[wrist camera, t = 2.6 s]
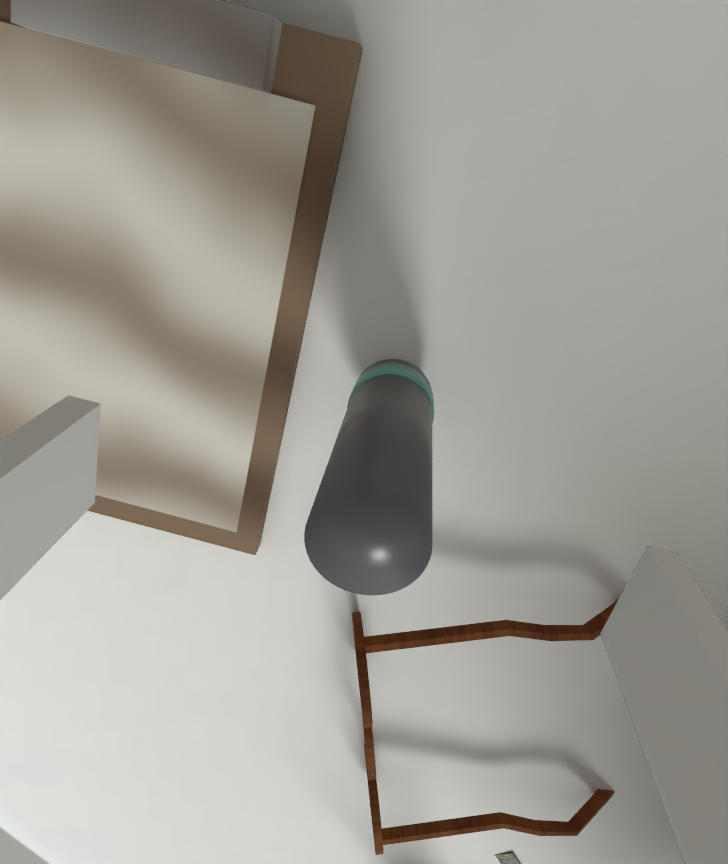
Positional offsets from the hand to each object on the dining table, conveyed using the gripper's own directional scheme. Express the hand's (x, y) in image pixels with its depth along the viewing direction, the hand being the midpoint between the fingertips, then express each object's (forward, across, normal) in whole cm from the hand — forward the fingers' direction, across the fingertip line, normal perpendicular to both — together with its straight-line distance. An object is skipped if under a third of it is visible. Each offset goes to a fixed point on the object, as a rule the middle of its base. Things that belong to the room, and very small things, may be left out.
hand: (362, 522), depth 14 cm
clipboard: (+11, +10, -1) cm, 15 cm away
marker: (+11, 0, 0) cm, 11 cm away
